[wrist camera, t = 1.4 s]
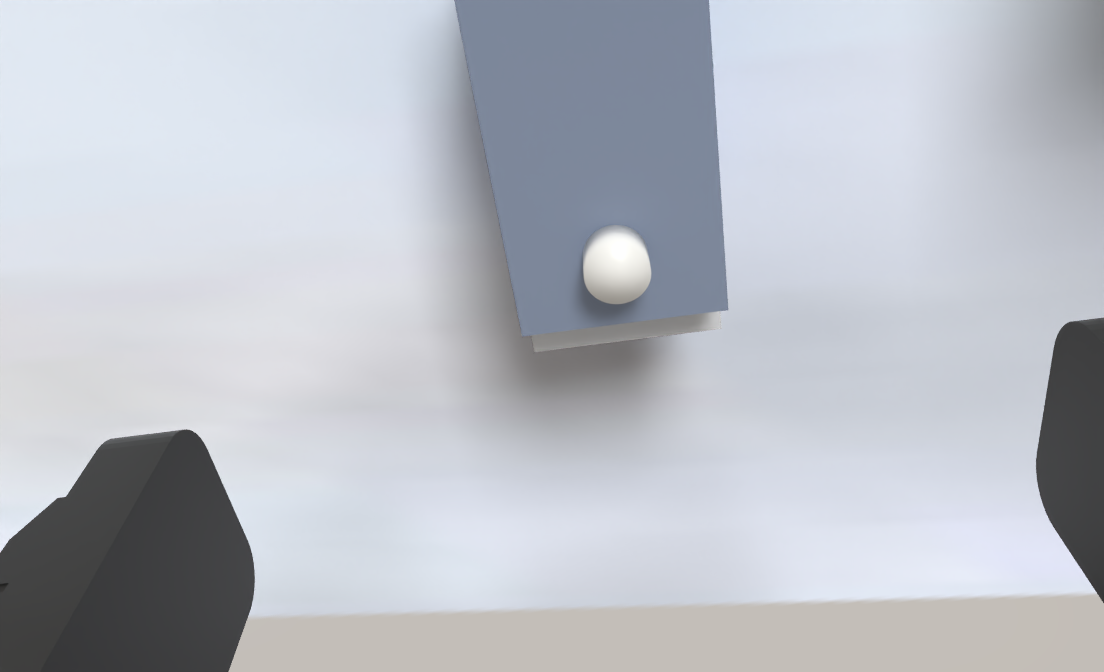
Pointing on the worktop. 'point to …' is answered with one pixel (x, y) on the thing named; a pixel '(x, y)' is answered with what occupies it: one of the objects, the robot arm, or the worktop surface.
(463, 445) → the worktop surface
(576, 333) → the servo
